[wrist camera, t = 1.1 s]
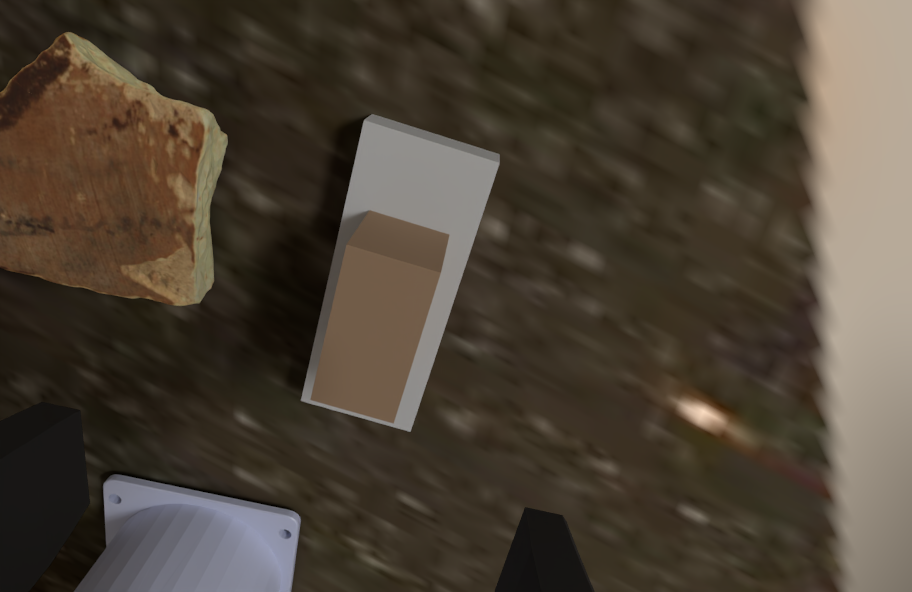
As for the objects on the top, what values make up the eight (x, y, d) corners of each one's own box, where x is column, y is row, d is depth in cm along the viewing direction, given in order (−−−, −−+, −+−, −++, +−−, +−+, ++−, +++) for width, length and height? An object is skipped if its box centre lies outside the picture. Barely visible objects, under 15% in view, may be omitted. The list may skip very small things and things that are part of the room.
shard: (-108, 217, 20) (-161, 234, 18) (-146, -35, 17) (-214, -40, 15) (213, 298, 21) (190, 322, 19) (236, 72, 18) (210, 78, 16)
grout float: (415, 406, 23) (397, 492, 18) (312, 377, 22) (271, 457, 18) (499, 152, 18) (499, 190, 14) (374, 112, 18) (338, 139, 14)
